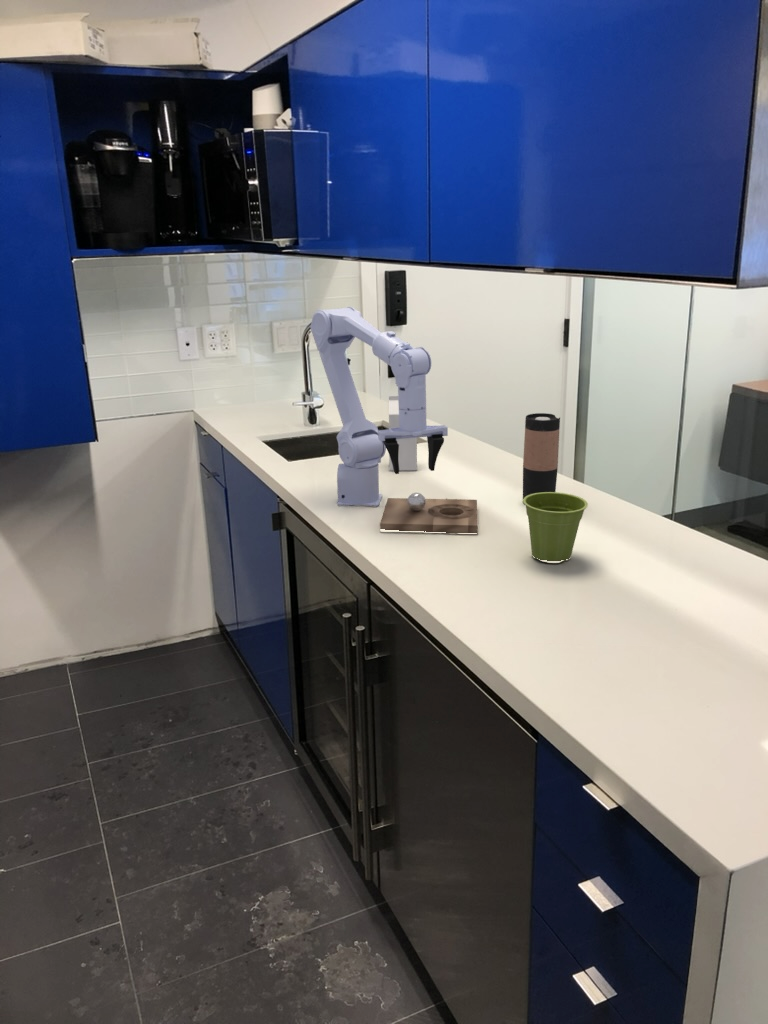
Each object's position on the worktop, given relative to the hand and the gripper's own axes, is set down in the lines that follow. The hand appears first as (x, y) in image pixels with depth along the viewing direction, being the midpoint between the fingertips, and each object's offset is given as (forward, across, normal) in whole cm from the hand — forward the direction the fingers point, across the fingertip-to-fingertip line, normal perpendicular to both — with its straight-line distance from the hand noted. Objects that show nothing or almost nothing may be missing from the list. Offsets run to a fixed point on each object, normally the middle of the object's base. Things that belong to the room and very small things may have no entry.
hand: (414, 471), depth 176 cm
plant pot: (+12, +20, -28) cm, 36 cm away
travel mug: (+11, +30, +4) cm, 32 cm away
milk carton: (+10, +7, +41) cm, 42 cm away
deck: (+11, +3, -1) cm, 11 cm away
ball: (+7, 0, 0) cm, 7 cm away
